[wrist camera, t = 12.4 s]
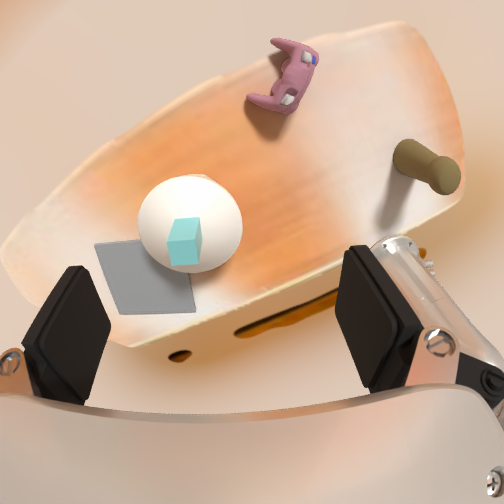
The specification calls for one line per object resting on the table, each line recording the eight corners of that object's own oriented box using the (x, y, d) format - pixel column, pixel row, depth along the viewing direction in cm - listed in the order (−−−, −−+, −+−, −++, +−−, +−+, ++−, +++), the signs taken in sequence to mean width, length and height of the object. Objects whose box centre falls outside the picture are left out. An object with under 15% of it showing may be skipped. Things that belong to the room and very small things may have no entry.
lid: (239, 170, 32) (241, 188, 26) (244, 265, 39) (247, 296, 33) (130, 181, 31) (111, 201, 26) (151, 271, 38) (140, 302, 33)
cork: (396, 135, 36) (441, 153, 27) (425, 142, 37) (471, 162, 27) (389, 172, 39) (430, 199, 30) (418, 177, 40) (460, 204, 30)
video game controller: (268, 110, 35) (300, 123, 31) (241, 100, 32) (271, 111, 28) (295, 48, 31) (331, 53, 26) (269, 34, 28) (304, 35, 23)
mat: (181, 236, 42) (181, 237, 42) (196, 309, 50) (195, 311, 50) (95, 243, 42) (94, 245, 41) (120, 312, 50) (119, 314, 49)
